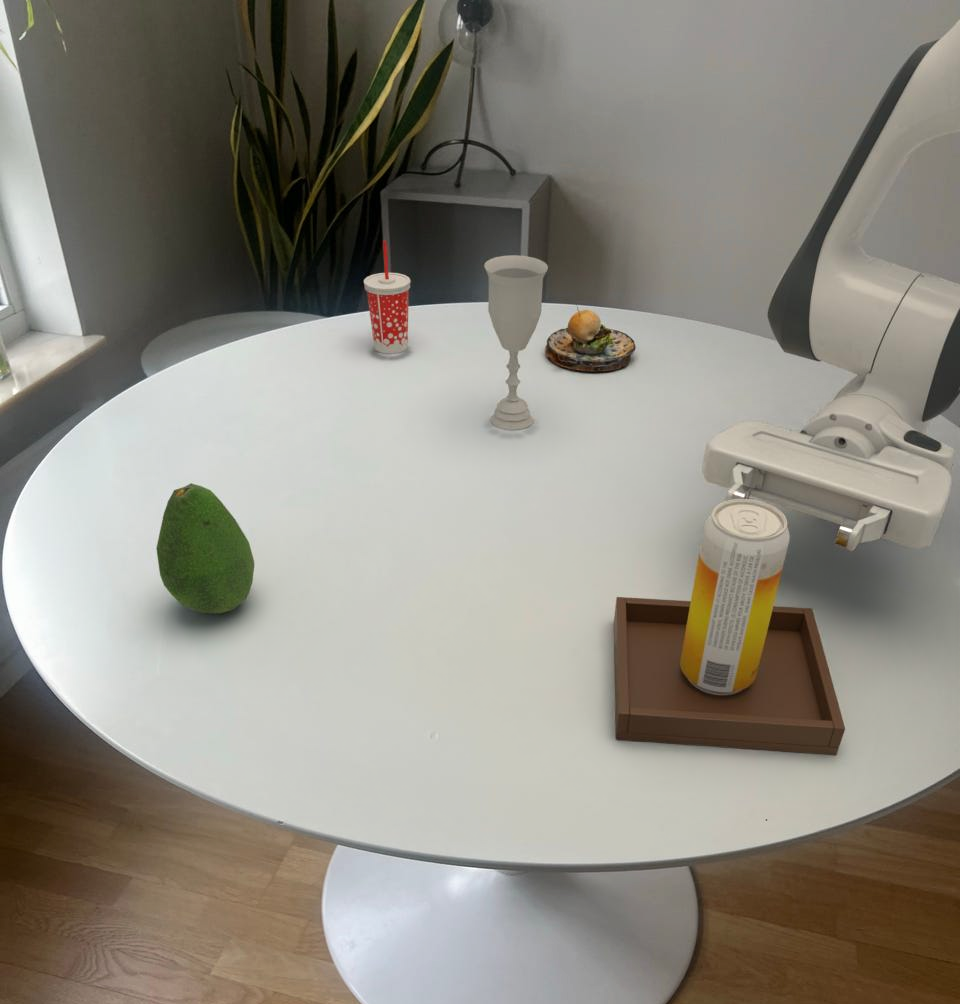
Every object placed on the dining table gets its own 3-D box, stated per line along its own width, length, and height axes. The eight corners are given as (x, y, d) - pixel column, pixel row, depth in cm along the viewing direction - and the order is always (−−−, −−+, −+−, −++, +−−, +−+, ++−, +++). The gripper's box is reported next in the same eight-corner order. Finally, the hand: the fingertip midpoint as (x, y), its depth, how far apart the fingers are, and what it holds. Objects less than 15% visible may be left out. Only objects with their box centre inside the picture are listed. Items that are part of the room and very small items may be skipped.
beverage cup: (421, 342, 133) (417, 237, 124) (400, 359, 128) (394, 251, 120) (382, 335, 135) (375, 230, 126) (360, 351, 130) (351, 244, 121)
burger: (646, 369, 126) (652, 312, 121) (559, 377, 124) (562, 320, 119) (616, 334, 135) (621, 280, 130) (535, 341, 133) (537, 286, 128)
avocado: (217, 570, 91) (194, 457, 83) (278, 599, 88) (259, 484, 80) (151, 613, 86) (119, 496, 78) (212, 645, 83) (185, 527, 75)
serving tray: (805, 633, 84) (812, 608, 82) (836, 755, 73) (845, 728, 71) (613, 621, 85) (616, 596, 83) (615, 739, 74) (618, 713, 72)
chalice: (475, 410, 117) (475, 258, 105) (528, 403, 118) (533, 252, 107) (494, 438, 111) (497, 281, 100) (549, 429, 113) (558, 274, 102)
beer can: (753, 655, 80) (790, 499, 71) (756, 704, 76) (796, 545, 66) (679, 646, 81) (706, 492, 72) (678, 695, 77) (706, 537, 67)
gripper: (744, 391, 89) (676, 450, 80) (975, 454, 80) (926, 528, 71) (733, 452, 93) (666, 514, 84) (951, 519, 84) (902, 596, 75)
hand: (787, 521), depth 78 cm, fingers open, 8 cm apart
